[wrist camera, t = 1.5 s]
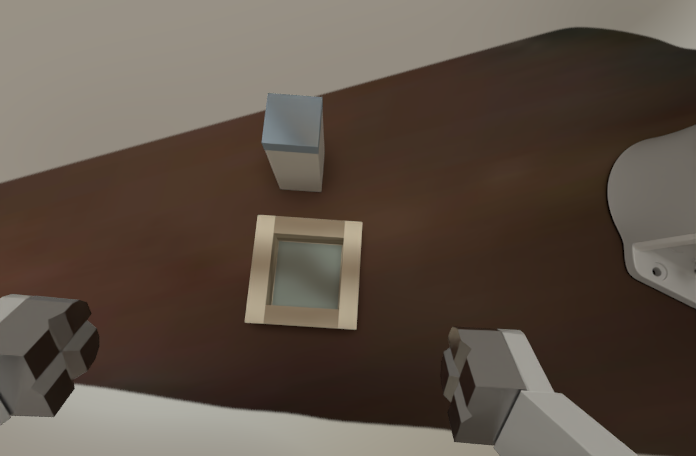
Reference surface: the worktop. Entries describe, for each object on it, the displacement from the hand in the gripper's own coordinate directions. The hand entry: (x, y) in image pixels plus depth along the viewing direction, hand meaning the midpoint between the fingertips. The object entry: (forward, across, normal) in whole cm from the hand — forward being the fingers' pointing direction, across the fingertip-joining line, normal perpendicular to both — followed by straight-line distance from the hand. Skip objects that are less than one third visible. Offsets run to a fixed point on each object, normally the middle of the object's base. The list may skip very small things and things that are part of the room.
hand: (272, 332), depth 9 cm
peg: (+29, +2, +8) cm, 30 cm away
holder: (+22, +1, +16) cm, 27 cm away
